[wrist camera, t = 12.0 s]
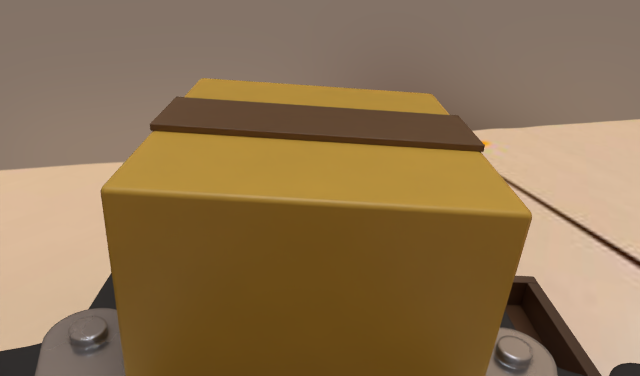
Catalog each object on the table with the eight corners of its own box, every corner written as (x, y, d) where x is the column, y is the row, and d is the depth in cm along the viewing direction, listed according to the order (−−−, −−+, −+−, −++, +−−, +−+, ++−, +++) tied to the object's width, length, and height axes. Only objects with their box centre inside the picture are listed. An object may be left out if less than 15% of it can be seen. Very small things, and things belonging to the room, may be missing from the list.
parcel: (162, 660, 9) (95, 179, 5) (212, 429, 14) (199, 71, 9) (401, 666, 10) (538, 205, 5) (373, 436, 14) (434, 87, 10)
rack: (178, 397, 27) (165, 242, 23) (210, 293, 35) (205, 165, 31) (587, 413, 28) (650, 266, 23) (524, 307, 36) (561, 185, 32)
